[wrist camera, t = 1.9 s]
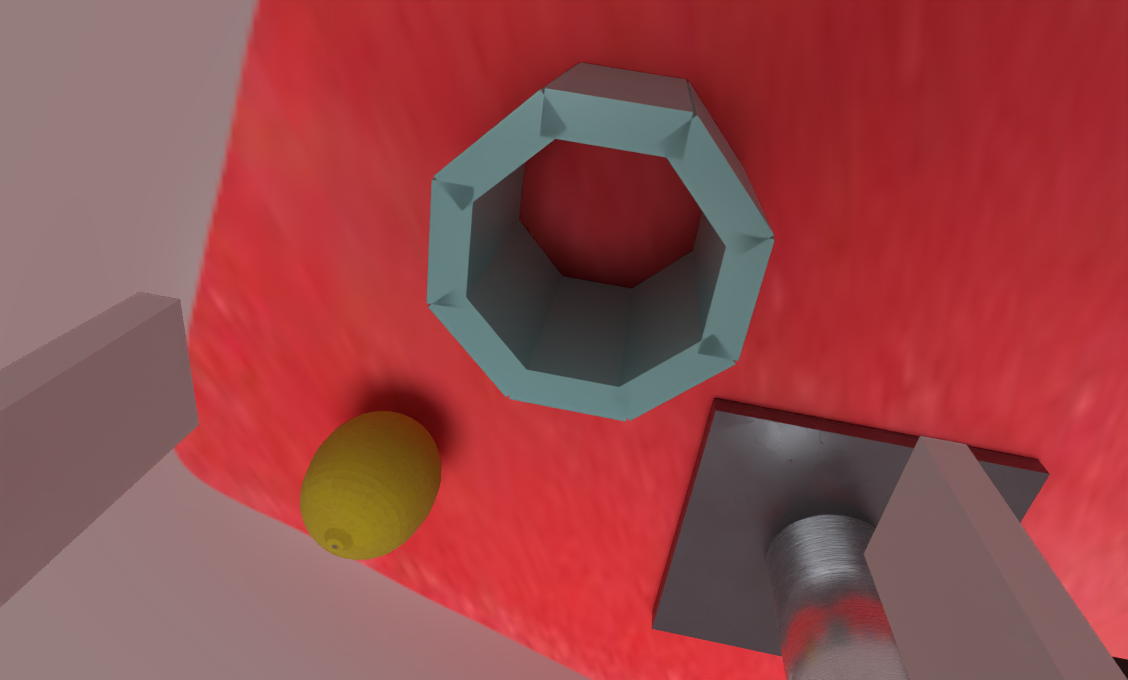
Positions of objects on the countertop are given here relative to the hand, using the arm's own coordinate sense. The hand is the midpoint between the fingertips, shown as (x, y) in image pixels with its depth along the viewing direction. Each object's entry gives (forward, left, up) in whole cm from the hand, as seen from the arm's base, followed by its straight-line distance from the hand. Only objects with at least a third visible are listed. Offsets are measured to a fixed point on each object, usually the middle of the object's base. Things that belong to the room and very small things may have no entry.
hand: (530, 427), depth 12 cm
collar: (0, 0, -16) cm, 16 cm away
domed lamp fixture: (-13, +15, -16) cm, 26 cm away
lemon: (+8, +13, -16) cm, 22 cm away
